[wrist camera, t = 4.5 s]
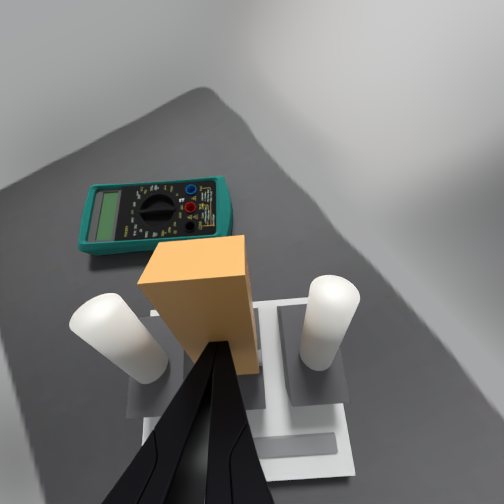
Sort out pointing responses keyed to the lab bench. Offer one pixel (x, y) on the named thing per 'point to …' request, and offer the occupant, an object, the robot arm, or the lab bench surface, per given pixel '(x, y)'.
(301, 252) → the lab bench surface
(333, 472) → the twin post stand
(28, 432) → the lab bench surface
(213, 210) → the digital multimeter
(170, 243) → the wooden block
